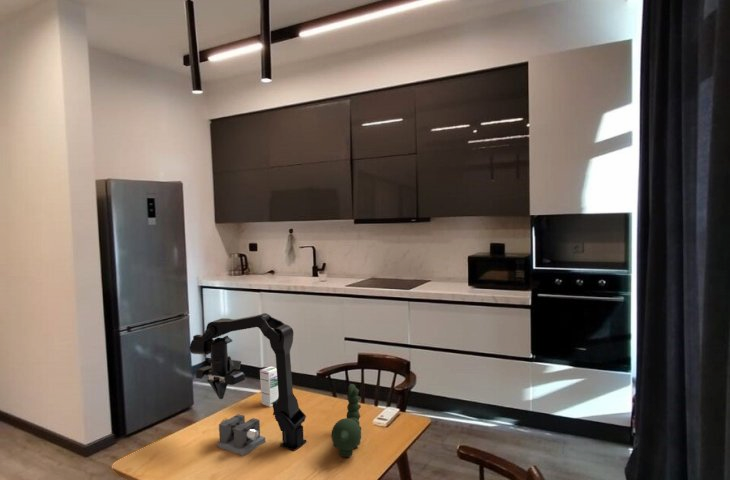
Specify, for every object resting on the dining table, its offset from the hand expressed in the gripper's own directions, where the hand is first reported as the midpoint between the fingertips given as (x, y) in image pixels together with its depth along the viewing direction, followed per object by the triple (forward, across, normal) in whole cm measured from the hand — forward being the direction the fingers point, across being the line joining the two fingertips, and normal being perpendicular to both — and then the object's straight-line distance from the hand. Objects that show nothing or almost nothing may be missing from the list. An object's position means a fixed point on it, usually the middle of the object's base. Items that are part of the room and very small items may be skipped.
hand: (221, 398), depth 151 cm
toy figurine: (+14, -45, -13) cm, 48 cm away
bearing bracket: (+13, -11, +2) cm, 17 cm away
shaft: (+11, -11, +2) cm, 16 cm away
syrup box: (+13, +2, -28) cm, 31 cm away
